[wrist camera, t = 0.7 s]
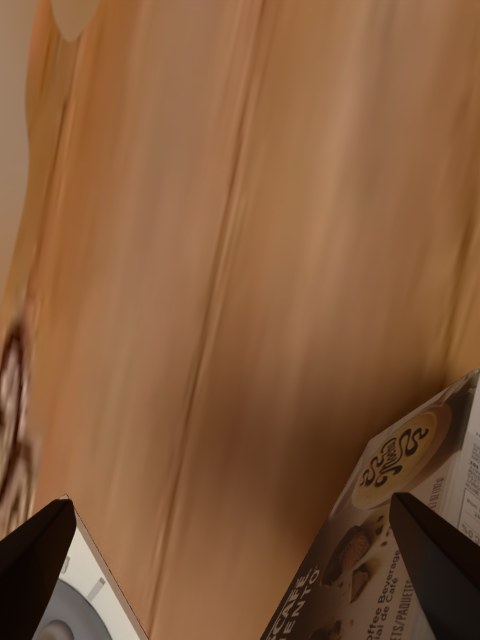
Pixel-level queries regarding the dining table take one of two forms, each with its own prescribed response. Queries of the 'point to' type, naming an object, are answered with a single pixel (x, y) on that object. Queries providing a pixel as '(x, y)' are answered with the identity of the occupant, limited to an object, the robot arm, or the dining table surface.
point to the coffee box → (387, 526)
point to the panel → (98, 586)
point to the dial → (69, 618)
